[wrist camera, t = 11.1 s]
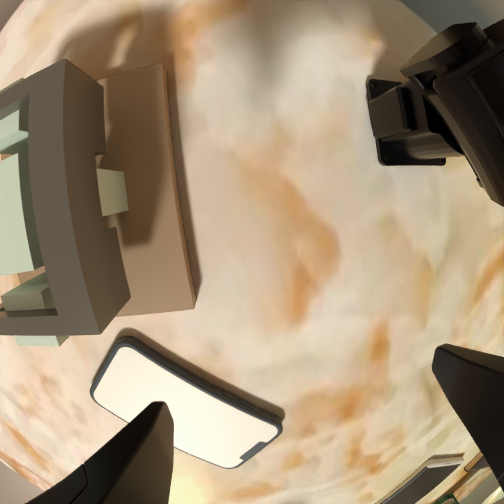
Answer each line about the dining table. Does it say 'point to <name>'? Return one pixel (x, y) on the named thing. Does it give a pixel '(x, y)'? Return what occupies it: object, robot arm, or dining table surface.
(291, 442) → the dining table surface
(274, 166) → the dining table surface
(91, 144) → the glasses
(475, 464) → the hardcover book
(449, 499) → the canned tomato
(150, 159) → the green blocks on base
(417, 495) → the smartphone
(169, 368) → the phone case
